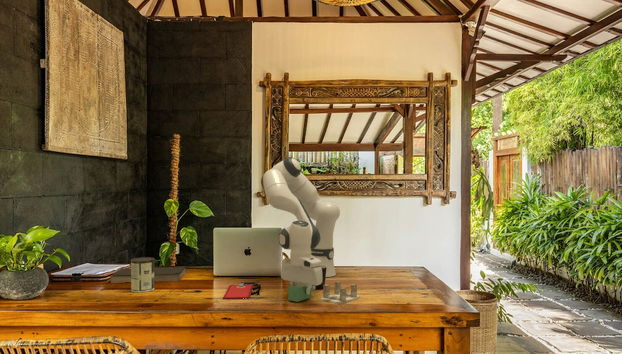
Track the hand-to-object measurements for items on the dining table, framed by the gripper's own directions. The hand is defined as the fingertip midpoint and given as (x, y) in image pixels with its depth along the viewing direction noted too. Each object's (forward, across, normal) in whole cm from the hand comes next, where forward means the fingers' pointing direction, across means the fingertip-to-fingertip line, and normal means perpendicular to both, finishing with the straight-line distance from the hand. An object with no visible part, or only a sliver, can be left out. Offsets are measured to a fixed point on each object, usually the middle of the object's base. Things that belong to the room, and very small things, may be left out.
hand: (301, 292), depth 200 cm
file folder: (+4, -90, -13) cm, 91 cm away
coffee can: (+3, -68, -31) cm, 75 cm away
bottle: (+2, 0, +2) cm, 3 cm away
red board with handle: (+4, -31, -3) cm, 31 cm away
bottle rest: (+3, +12, +12) cm, 17 cm away
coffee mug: (+3, -9, +21) cm, 23 cm away
